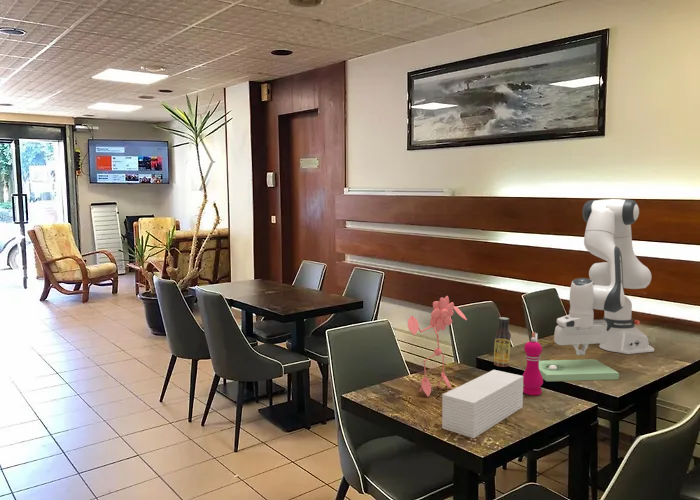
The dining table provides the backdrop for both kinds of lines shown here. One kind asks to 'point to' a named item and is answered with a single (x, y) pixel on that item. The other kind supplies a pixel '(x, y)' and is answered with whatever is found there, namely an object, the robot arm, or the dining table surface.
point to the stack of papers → (482, 403)
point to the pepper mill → (532, 368)
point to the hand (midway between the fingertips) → (580, 354)
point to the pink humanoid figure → (439, 321)
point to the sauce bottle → (502, 344)
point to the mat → (575, 369)
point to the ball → (552, 367)
